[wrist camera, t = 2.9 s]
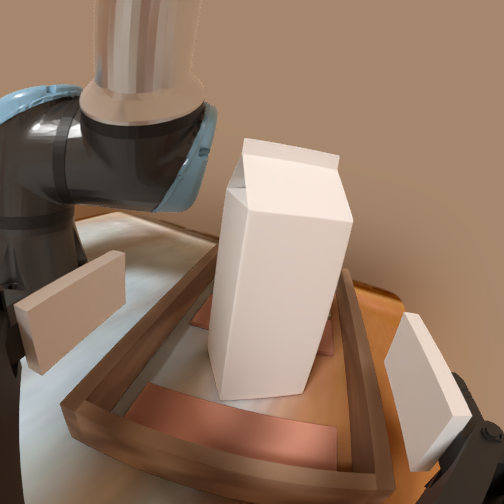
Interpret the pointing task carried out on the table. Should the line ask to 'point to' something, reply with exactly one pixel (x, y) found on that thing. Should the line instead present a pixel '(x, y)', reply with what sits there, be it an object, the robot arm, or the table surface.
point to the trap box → (234, 417)
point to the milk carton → (276, 269)
